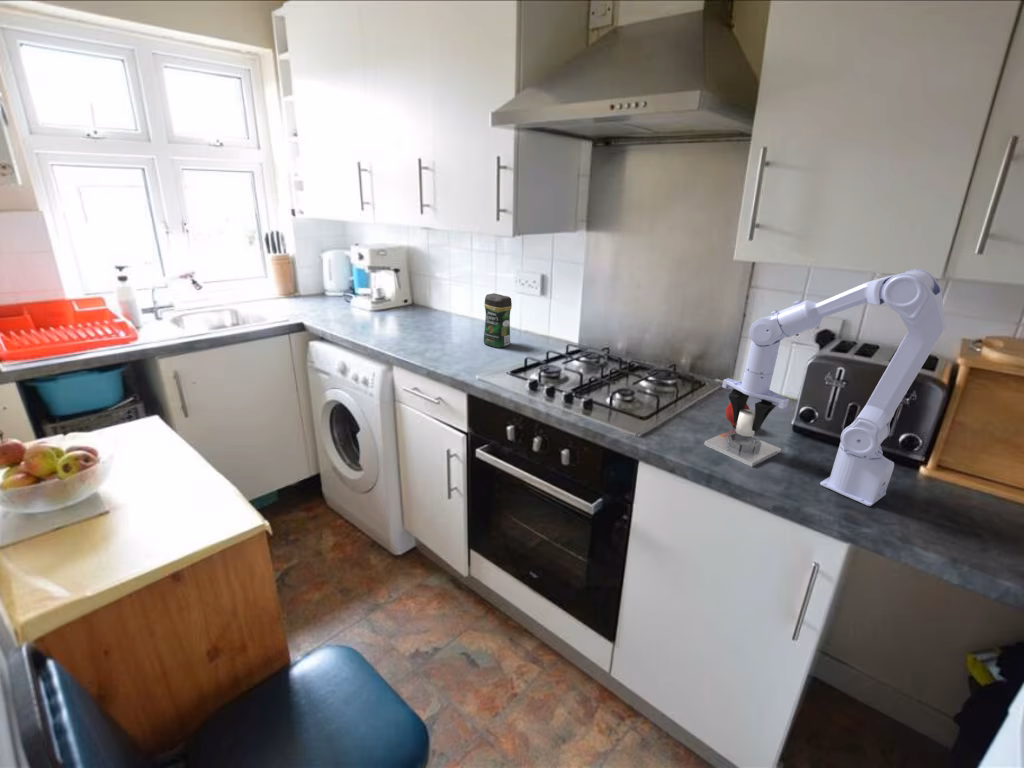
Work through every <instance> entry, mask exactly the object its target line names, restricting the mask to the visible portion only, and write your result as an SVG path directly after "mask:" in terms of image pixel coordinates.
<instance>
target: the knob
mask: <svg viewBox="0 0 1024 768" xmlns="http://www.w3.org/2000/svg"><path fill="white" fill-rule="evenodd" d="M749 409H750V408H749ZM749 409H741V410H740V412H739V416H738V421H737V426H735V430H736V433H738V434H740V435H742V436H755V432H756V431H753V430H752V426H753V422H754V418H755V410H752V409H750V410H749Z"/></svg>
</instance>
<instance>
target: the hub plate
mask: <svg viewBox="0 0 1024 768" xmlns="http://www.w3.org/2000/svg"><path fill="white" fill-rule="evenodd" d="M703 443H704V444H703V446H706V447H708V448H710V449H712V450H714V451H716V452H719V453H721V454H723V455H725V456H727V457H729V458H731V459H734V460H736V461H738V462H740V463H743V464H745V465H746V466H749V467H751V468H753V467H755V466H756V465H758V464H760V463H762V462H764V461H766V460H768V459H770V458H772V457H774V456H776V455H779V454H780V453H781V450H782V448H780V447H777V446H776V445H774V444H770V443H769V442H766V441H764V440H761V439H759V438H758V437H757V436H755V435H753V436H742V435H740V434H738V433H736V428H735V429H734V428H732V429H731V430H728V431H726V432H724V433H720V434H719V435H716V436H713V437H711V438H709V439H707V440H704V442H703Z"/></svg>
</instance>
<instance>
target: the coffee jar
mask: <svg viewBox="0 0 1024 768" xmlns="http://www.w3.org/2000/svg"><path fill="white" fill-rule="evenodd" d="M483 305H484V309H485V311H484V312H485V322H484V331H483V332H484V333H483V343H484V344H485V345H488V346H490V347H494V348H498V349H499V348H506V347H508V346H509V345H510V344H511V325H510V324H511V321H510V320H511V311H512V307H513V306H512V305H513V303H512V298H511V297H510V296H507V295H503V294H499V293H495V292H494V293H488V294H486V295H485V297H484V303H483Z"/></svg>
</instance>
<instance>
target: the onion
mask: <svg viewBox="0 0 1024 768" xmlns="http://www.w3.org/2000/svg"><path fill="white" fill-rule="evenodd" d="M745 409H749V410H751V409H750V406H749V405H748V404H747V403H746V405H745ZM724 414H725V418H726V420H728V422H729V423H730V425H732V426H733V427H736V426H737V424H736V423H734V416H733V408H732V404H731V402H730V403H728V404H727V406H726V407H725V411H724Z"/></svg>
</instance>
